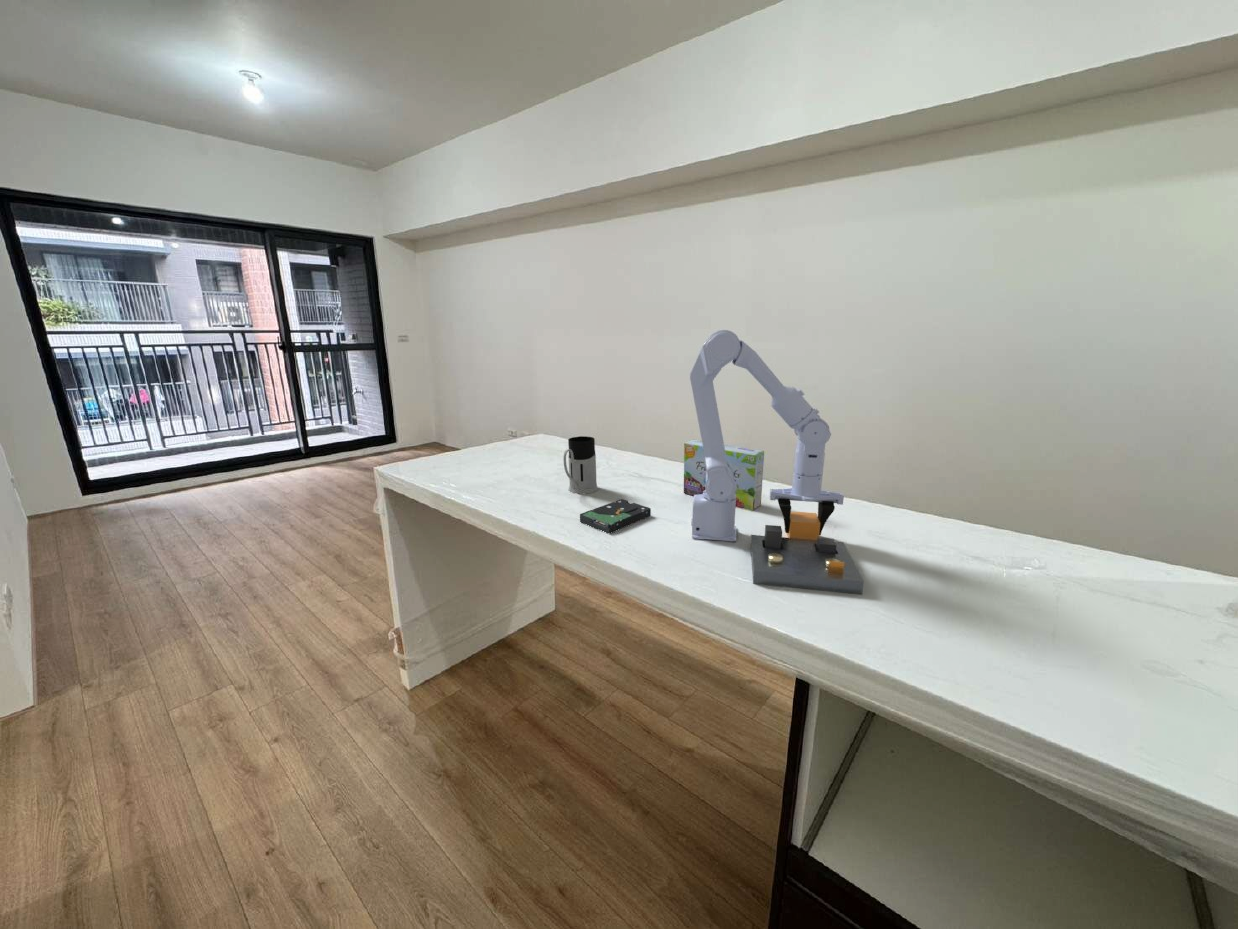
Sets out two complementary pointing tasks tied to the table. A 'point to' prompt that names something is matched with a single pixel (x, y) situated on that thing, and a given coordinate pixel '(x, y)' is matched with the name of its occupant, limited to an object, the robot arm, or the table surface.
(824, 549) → the dark grey block
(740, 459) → the snack box
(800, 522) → the cap
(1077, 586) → the table surface
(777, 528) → the block
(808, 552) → the grey flat slab
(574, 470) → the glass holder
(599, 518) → the disk drive
